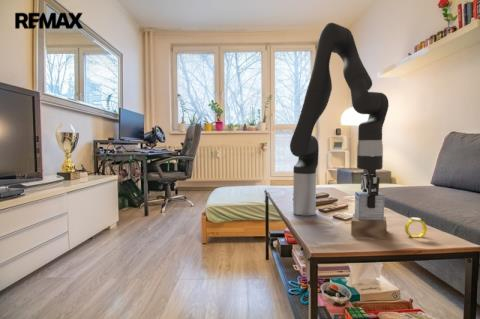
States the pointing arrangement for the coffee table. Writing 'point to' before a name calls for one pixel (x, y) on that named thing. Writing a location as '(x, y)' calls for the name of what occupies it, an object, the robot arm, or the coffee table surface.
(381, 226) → the walnut block
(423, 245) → the coffee table surface
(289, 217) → the coffee table surface
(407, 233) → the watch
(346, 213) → the coffee table surface
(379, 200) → the medicine box
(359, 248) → the coffee table surface
